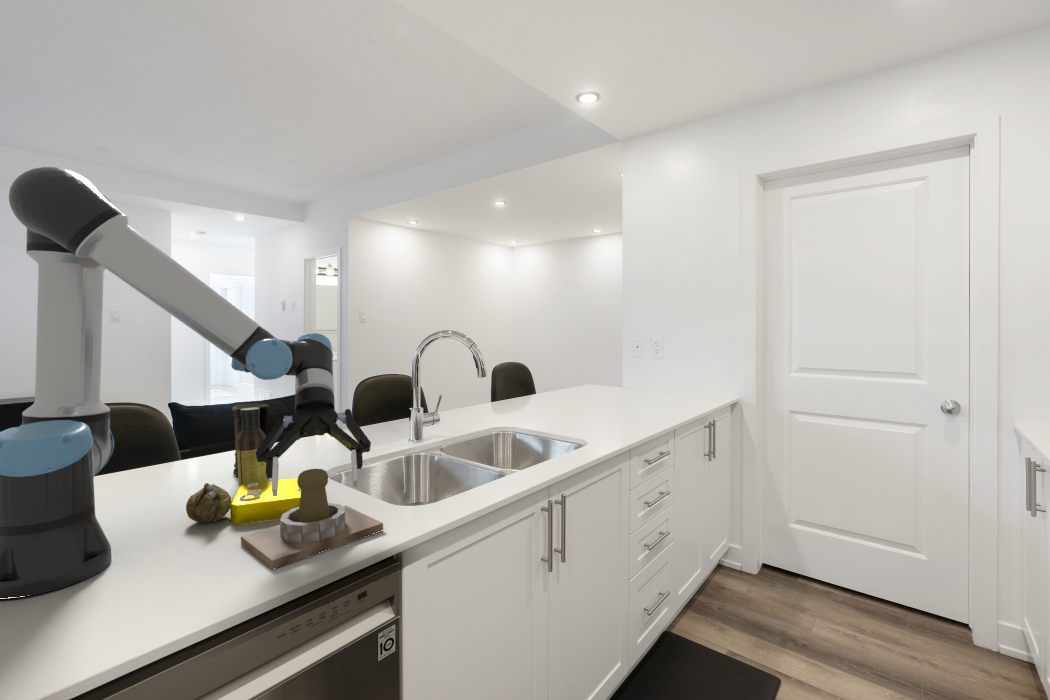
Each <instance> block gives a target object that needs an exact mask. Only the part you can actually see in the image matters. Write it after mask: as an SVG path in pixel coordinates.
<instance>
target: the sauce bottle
mask: <svg viewBox="0 0 1050 700" xmlns="http://www.w3.org/2000/svg"><path fill="white" fill-rule="evenodd" d="M259 415H260V408H244V409H241V410H240V416H241V419H242V426H241V427H242V430H241V432H240V433H239V435H238V437H237V464H238V476H237V478H238V480H237V482H238V488H239V487H240V486H241V485H243V484H246V483H255V482H264V481H270V478H269V479H267V477H266V462H263V461H262V462H258V461H257V458H256V451H257V449H258V448H259V446H260V445H261V444H262V442H263V441H264V439H265V438H266V436H265V434H264V432H263V431H262V430H261V428H260V418H259Z"/></svg>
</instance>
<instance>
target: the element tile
mask: <svg viewBox="0 0 1050 700" xmlns="http://www.w3.org/2000/svg"><path fill="white" fill-rule="evenodd" d="M297 480H298V477H293V478H283V479H282V478H281V479H278V496H275V497H273V495H272V480H269V481H264V482H255V483H246V484H243V485H241V486H240V487H239V486H238V487H237V490H236V492H235V494H234V495H233V497H232V498H231V503H230V510H229V512H230V524H231V525H233V526H234V525H246V524H253V523H254V524H255V523H260V522H269V521H276V520H280V519H281V516H282V514H284V513H285V512H287V511H289V510H291V509H293V508H296V507H299V505H300V496H301V489H300V488H299V487H298V482H297Z"/></svg>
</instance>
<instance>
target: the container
mask: <svg viewBox="0 0 1050 700" xmlns="http://www.w3.org/2000/svg"><path fill="white" fill-rule="evenodd" d="M244 408H260V415H259V418H260V428H261V430H262V431H263V432H264V434H265V436H267V435H268V433H269V428H268V427H269V425H268V422H269V420H268V412H269V411H268V409H269V404H268V403H246V404H237V405H234V406H233V407H232V412H234V413H233V415H234V422H233V423H234V439H235V440H234V442H235V444H234V445H235V448H234V449H235V452H234V459H235V460H234V464H233V467H234V469H233V471H232V472H233V475H234V476H235V475H236V476H235V477H238V464H237V437H238V435H239V433H240V432H241V430H242V427H241V426H242V419H241V416H240V410H241V409H244Z"/></svg>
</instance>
